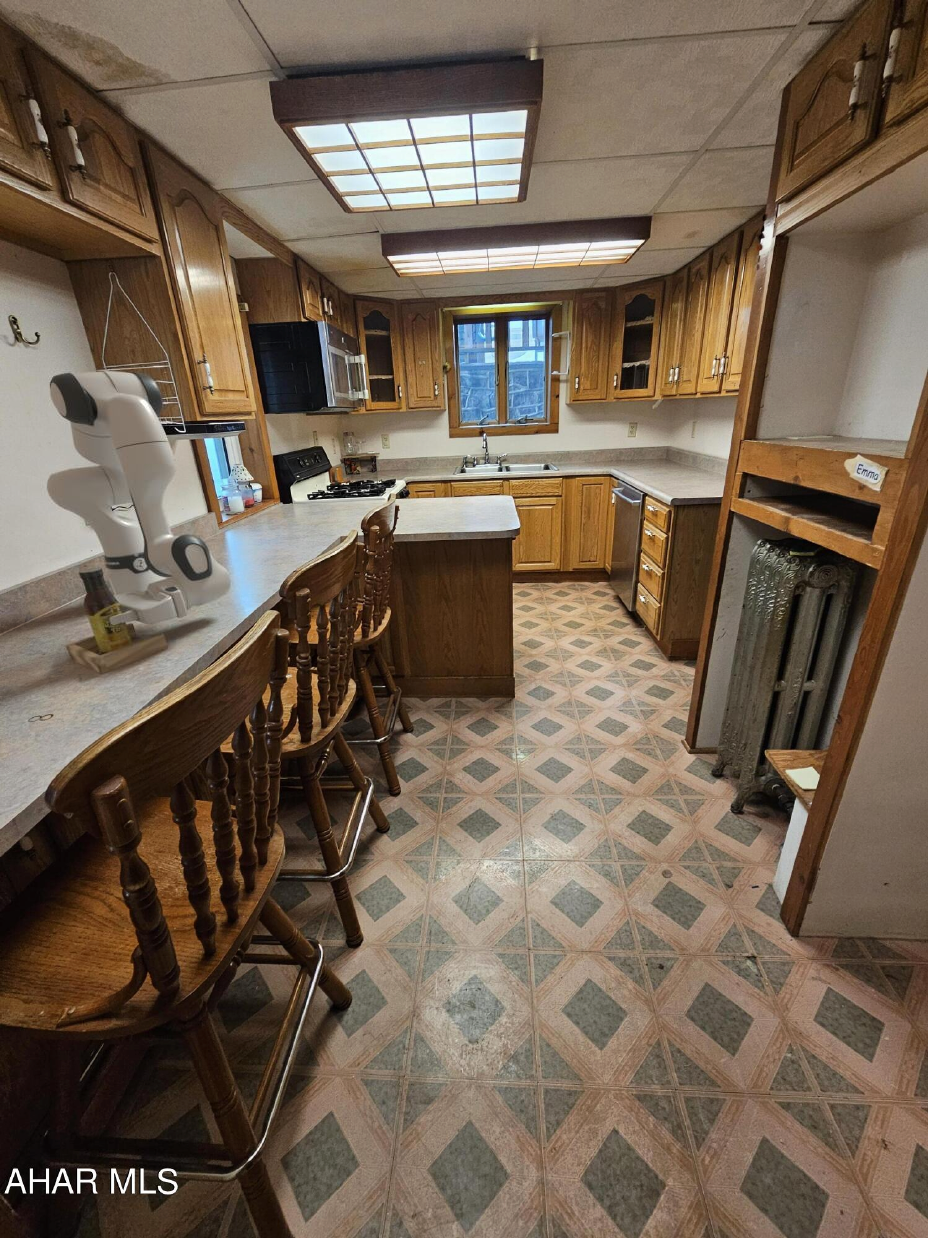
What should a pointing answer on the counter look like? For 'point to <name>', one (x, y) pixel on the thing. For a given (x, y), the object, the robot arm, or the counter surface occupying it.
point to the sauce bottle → (103, 612)
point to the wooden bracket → (117, 658)
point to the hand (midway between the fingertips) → (101, 618)
